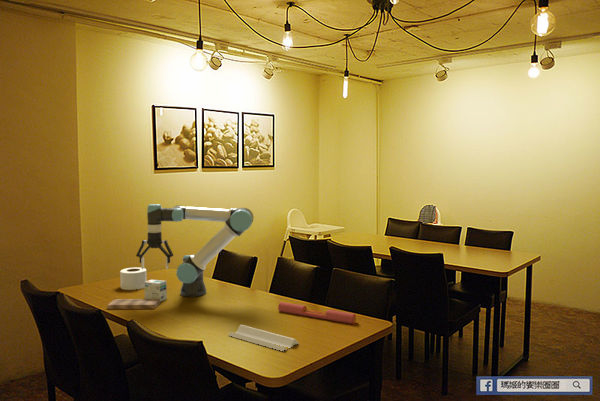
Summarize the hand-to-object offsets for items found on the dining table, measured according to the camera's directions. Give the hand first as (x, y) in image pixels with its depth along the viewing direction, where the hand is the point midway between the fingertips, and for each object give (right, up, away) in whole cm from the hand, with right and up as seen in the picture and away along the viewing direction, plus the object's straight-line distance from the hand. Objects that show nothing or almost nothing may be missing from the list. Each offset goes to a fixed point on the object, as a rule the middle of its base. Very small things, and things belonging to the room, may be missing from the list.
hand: (155, 268), depth 274 cm
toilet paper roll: (-22, -16, +29) cm, 40 cm away
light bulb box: (0, -18, +1) cm, 18 cm away
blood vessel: (+90, -21, -27) cm, 97 cm away
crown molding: (+66, -24, -59) cm, 92 cm away
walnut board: (-8, -19, -11) cm, 23 cm away
